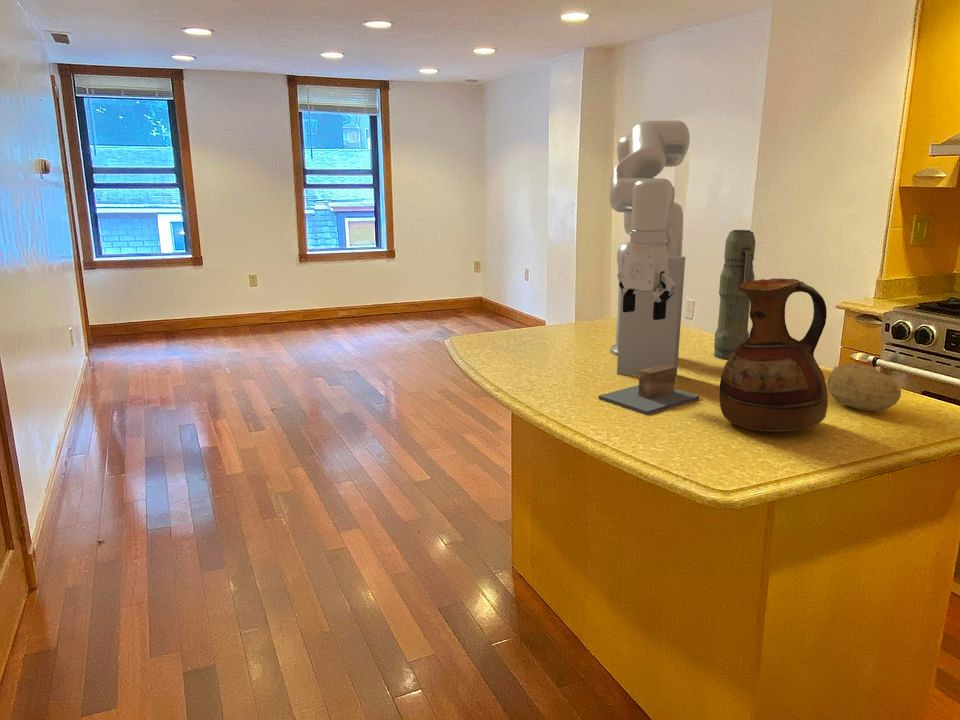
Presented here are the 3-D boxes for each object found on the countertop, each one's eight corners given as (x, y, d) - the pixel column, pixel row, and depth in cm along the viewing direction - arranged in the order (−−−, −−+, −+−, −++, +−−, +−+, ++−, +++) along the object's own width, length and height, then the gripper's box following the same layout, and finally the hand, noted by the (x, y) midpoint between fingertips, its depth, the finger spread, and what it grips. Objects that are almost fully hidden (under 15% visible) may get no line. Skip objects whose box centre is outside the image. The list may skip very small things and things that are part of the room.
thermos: (732, 350, 201) (743, 228, 192) (756, 360, 190) (769, 231, 181) (704, 352, 199) (714, 229, 191) (727, 362, 188) (739, 232, 179)
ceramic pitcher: (705, 409, 150) (717, 271, 143) (799, 409, 150) (815, 271, 142) (734, 442, 131) (749, 285, 124) (842, 443, 131) (864, 285, 123)
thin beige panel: (677, 374, 177) (685, 256, 169) (673, 380, 172) (681, 259, 164) (622, 368, 182) (627, 254, 175) (616, 373, 178) (622, 256, 170)
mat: (650, 385, 168) (650, 381, 167) (699, 399, 157) (699, 395, 157) (598, 398, 157) (598, 395, 157) (646, 415, 146) (647, 411, 146)
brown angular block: (638, 395, 157) (639, 370, 155) (664, 388, 162) (665, 364, 160) (648, 399, 154) (650, 373, 153) (674, 391, 160) (676, 366, 158)
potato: (858, 397, 158) (864, 357, 155) (903, 418, 144) (910, 374, 141) (817, 399, 157) (822, 359, 154) (858, 420, 143) (865, 376, 140)
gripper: (608, 236, 156) (605, 310, 160) (664, 242, 141) (658, 324, 146) (633, 234, 159) (629, 307, 164) (690, 240, 145) (684, 320, 150)
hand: (643, 315), depth 155 cm, fingers open, 9 cm apart
